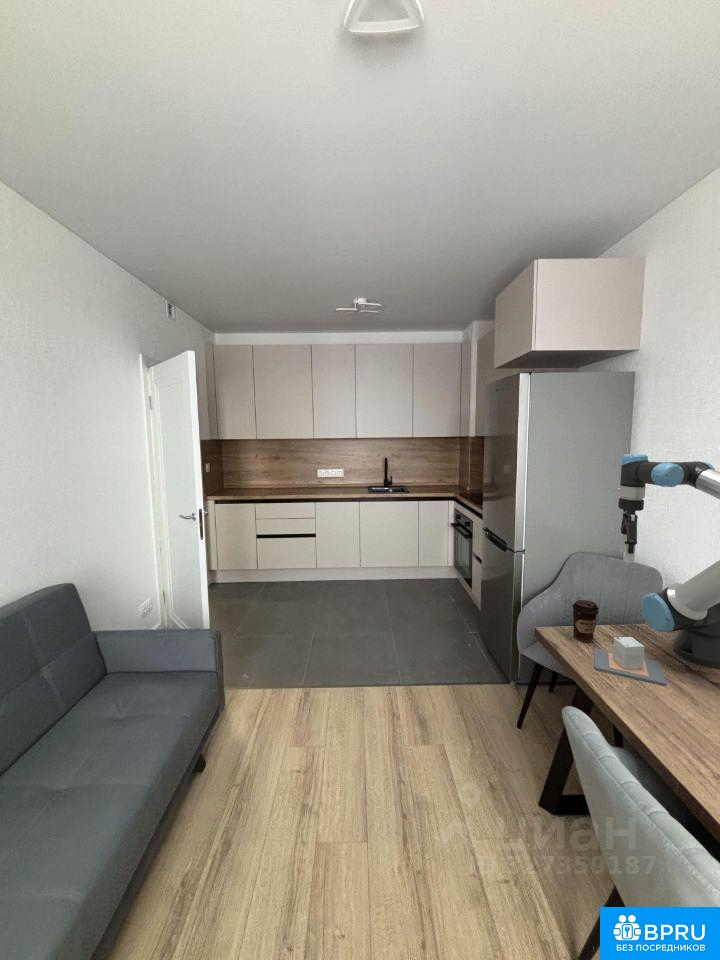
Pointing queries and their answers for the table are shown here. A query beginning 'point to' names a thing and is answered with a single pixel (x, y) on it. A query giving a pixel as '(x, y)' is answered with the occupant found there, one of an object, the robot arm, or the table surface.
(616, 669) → the card
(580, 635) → the coffee cup
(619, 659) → the skincare box
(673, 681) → the table surface
